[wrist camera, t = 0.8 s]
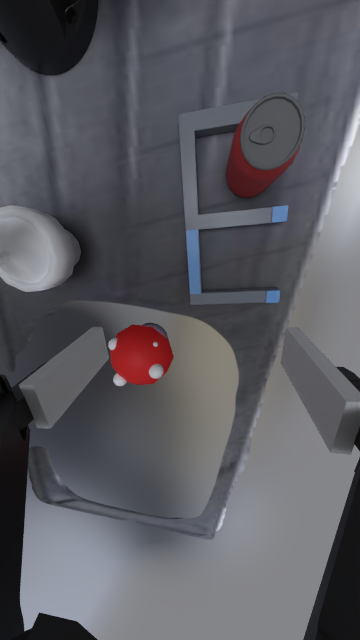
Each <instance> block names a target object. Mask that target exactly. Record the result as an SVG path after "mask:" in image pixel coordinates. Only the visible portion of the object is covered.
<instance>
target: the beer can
mask: <svg viewBox="0 0 360 640" xmlns="http://www.w3.org/2000/svg"><path fill="white" fill-rule="evenodd" d="M304 130H305V116H304V113H303V110H302V107H301V105H300V104H299V102H298V101H297V100H296V99H295V98H294V97H292V96H290V95H288V94H286V93H272V94H270V95H267V96H264V97H263V98H262V99H260V100H259V101H258V102H256V103H255V104H254V105H253V107H252V108H251V109H250V110H249V111H248V112H247V114H246V115H245V116H244V118H243V119H242V120H241V122H240V123H239V125H238V127H237V130H236V132H235V135H234V138H233V143H232V147H231V152H230V156H229V160H228V165H227V171H226V177H227V183H228V185H229V187H230V189H231V190H232V191H233V192H234V193H235V194H236V195H238V196H240V197H246V198H250V197H253V196H256V195H258V194H260V193H261V192H263V191H264V190H265V189H266V188H267V187H268V186H269V185H270V184H272V183H273V182H274V181H275V180H276V179H277V178H278V177H279V176H280V175H281V174H282V173H284V171H285V170H286V169H287V168H288V167H289V166H290V165H291V164H292V162H293V160H294V158H295V156H296V154H297V153H298V150H299V148H300V144H301V142H302V138H303V134H304Z"/></svg>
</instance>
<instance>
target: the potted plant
mask: <svg viewBox="0 0 360 640" xmlns="http://www.w3.org/2000/svg"><path fill="white" fill-rule="evenodd" d="M80 255H81V250H80V246H79V242H78V241H77V239H76V238H75V237H74V236H73V234H72V233H70V232H69V231H67V230H65V229H64V228H63V227H62V225H61V224H60V223H59V222H58V221H57V219H56V218H54V217H52V216H50V215H48V214H46V213H44V212H41V211H39V210H37V209H33V208H27V207H21V206H15V205H11V206H5V207H0V277H1V278H2V279H3V280H4V281H5V282H6V283H7V284H9V285H11V286H13V287H16V288H18V289H20V290H22V291H24V292H32V291H42V290H46V289H49V288H53V287H56V286H59V285H61V284H62V283H63V282H64V281H66V280H67V279H68V278H69V277H70V276H71V275H72V272H73V267H74V265H75V264H76V263H78V262H79V259H80Z"/></svg>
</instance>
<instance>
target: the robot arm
mask: <svg viewBox="0 0 360 640" xmlns="http://www.w3.org/2000/svg"><path fill="white" fill-rule="evenodd" d="M97 5H98V0H0V42H1V43H2V44H3V45H4V47H5V48H6V49H8V50H9V51H10V52H11V53H12V54H13V55H14V56H15V57H16V58H17V59H18V60H19V61H20V62H22V63H23V64H24V65H25V66H27V67H28V68H30V69H32V70H34V71H36V72H38V73H42V74H49V75H52V74H59V73H62V72H64V71H66V70H68V69H69V68H71V67H72V66H73V65H75V64H76V63H77V62H78V60H79V59H80V58H81V57H82V55H83V54H84V52H85V50H86V49H87V47H88V44H89V42H90V40H91V37H92V34H93V30H94V26H95V22H96V15H97ZM107 359H109V356H108V352H107V347H106V343H105V338H104V333H103V329H102V327H92V328H91V329H90V330H88V331H87V332H86V333H85V334H84V335H82V336H81V337H80V338H78V339H77V340H76V341H74V342H73V343H72V344H70V345H69V346H68V347H67V348H65V349H64V350H63V351H62V352H60V353H59V354H58V355H56V356H55V357H54V358H52V359H51V360H50V361H48V362H46V363H44V364H42V365H41V366H40V367H38V368H37V369H36V370H34V371H33V372H32V373H31V374H30V375H28V376H27V377H25V378H24V379H23V380H22V381H20V382H19V383H17V384H16V385H15V386H14V387H12V388H11V386H10V384H9V382H8V380H7V377H6V376H5V375H0V640H97V639H96V638H95V637H94V636H93V635H92V634H90V633H89V632H88V631H87V630H86V629H85V628H84V627H83V626H82V625H80V624H79V623H78V622H76V621H73V620H68V619H64V618H60V617H55V616H51V615H47V614H43V613H39V614H38V617H37V619H36V621H35V623H34V625H33V627H32V628H31V629H29V630H27V631H24V622H23V616H22V612H21V607H20V580H21V566H22V549H23V534H24V518H25V502H26V487H27V471H28V455H29V439H30V429H29V426H28V424H29V423H30V422H31V421H32V420H33V419H34V421H35V424H36V426H37V428H47V429H51V427H52V426H53V425H54V424H55V423H56V421H57V420H58V419H59V418H60V417H61V415H62V414H63V413H64V412H65V410H66V409H67V408H68V407H69V406H70V404H71V403H72V402H73V401H74V400H75V398H76V397H77V396H78V395H79V394H80V392H81V391H82V390H83V389H84V388H85V386H86V385H87V384H88V383H89V382H90V380H91V379H92V378H93V377H94V376H95V374H96V373H97V372H98V371H99V370H100V368H101V367H102V366H103V365H104V363H105V362H106V361H107ZM281 364H282V366H283V368H284V369H285V371H286V373H287V375H288V377H289V379H290V380H291V382H292V384H293V386H294V388H295V389H296V391H297V393H298V395H299V397H300V398H301V400H302V402H303V404H304V406H305V407H306V409H307V411H308V413H309V415H310V417H311V418H312V420H313V422H314V424H315V426H316V427H317V429H318V431H319V433H320V434H321V436H322V438H323V440H324V442H325V444H326V445H327V447H328V449H329V451H330V453H341V454H351V452H352V449H353V447H354V444H355V445H356V447H357V448H358V449H359V451H360V378H359V377H357V376H356V375H355V374H354V373H353V372H351V371H349V370H348V369H346V368H344V367H335V366H334V365H333V364H332V363H331V361H330V360H329V359H327V357H326V356H325V355H324V354H323V353H322V352H321V351H320V350H319V349H318V348H317V347H316V346H315V345H314V344H313V343H312V342H311V341H310V339H309V338H307V336H306V335H305V334H304V333H303V332H302V331H301V330H300V329H299V328H286V331H285V338H284V345H283V353H282V359H281ZM354 472H355V474H354V477H353V481H352V484H351V487H350V491H349V494H348V497H347V500H346V503H345V507H344V510H343V513H342V516H341V520H340V523H339V526H338V530H337V532H336V536H335V539H334V542H333V545H332V549H331V552H330V555H329V558H328V562H327V565H326V568H325V571H324V575H323V578H322V581H321V584H320V587H319V591H318V594H317V597H316V600H315V604H314V607H313V610H312V613H311V617H310V620H309V623H308V626H307V630H306V633H305V636H304V639H303V640H360V458H359V461H358V463H357V466H356V469H355V471H354Z"/></svg>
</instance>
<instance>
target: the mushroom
mask: <svg viewBox="0 0 360 640" xmlns="http://www.w3.org/2000/svg"><path fill="white" fill-rule="evenodd" d="M108 346H109V348H110V350H111V363H112V364H111V365H112V366H113V368H114V369H115V370H116V372H117V374H115V376H114V379H113V381H114V383H115V384H116V385H118V386H122V385H124V384H125V383H126V382H127V381H128V382H130V383H133V384H137V385H144V384H154V383H155V382H156V381H157V380H158V379H159V378H160V377H162V376H163V375H164V374H165V373H166V372H167V371H168V368H169V366H170V364H171V362H172V360H173V354H172V350H171V347H170V344H169V340H168V337H167V333H166V332H165V330H164V329H163V328H162V327H161V326H159V325H158V324H154V323H146V324H144V325H142V326H140V325H131V326H129V327H128V328H126V329H125V330H123V331H121V332H119V333H118V334H117V336H116V338H113V339H111V340H110V341H109V344H108Z"/></svg>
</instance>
